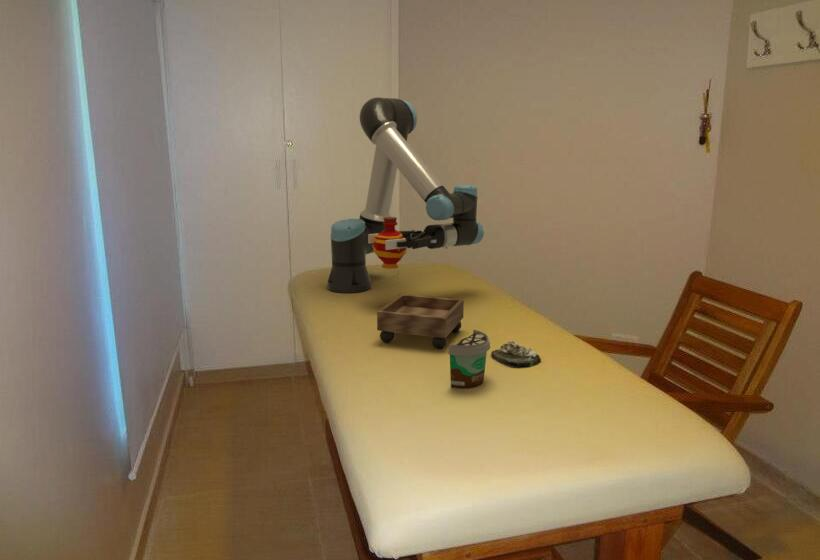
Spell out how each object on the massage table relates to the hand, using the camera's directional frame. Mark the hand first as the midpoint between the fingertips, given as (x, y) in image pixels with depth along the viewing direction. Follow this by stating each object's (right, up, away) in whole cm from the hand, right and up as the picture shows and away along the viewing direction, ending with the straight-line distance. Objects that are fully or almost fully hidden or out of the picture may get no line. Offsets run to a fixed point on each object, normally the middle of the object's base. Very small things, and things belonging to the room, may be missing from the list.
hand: (377, 241), depth 179 cm
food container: (+23, -34, -49) cm, 64 cm away
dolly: (+13, -26, -20) cm, 35 cm away
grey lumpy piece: (+35, -31, -35) cm, 59 cm away
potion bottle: (+3, -8, +4) cm, 9 cm away
